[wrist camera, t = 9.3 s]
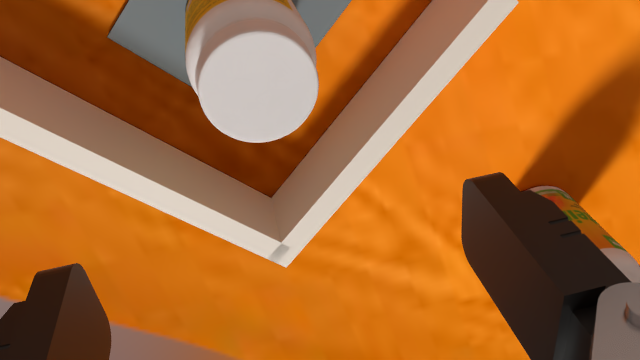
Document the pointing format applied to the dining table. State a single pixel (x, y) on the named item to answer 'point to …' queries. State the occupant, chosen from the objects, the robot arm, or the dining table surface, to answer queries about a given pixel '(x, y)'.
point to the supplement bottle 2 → (592, 231)
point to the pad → (169, 29)
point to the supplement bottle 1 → (251, 66)
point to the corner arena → (226, 192)
